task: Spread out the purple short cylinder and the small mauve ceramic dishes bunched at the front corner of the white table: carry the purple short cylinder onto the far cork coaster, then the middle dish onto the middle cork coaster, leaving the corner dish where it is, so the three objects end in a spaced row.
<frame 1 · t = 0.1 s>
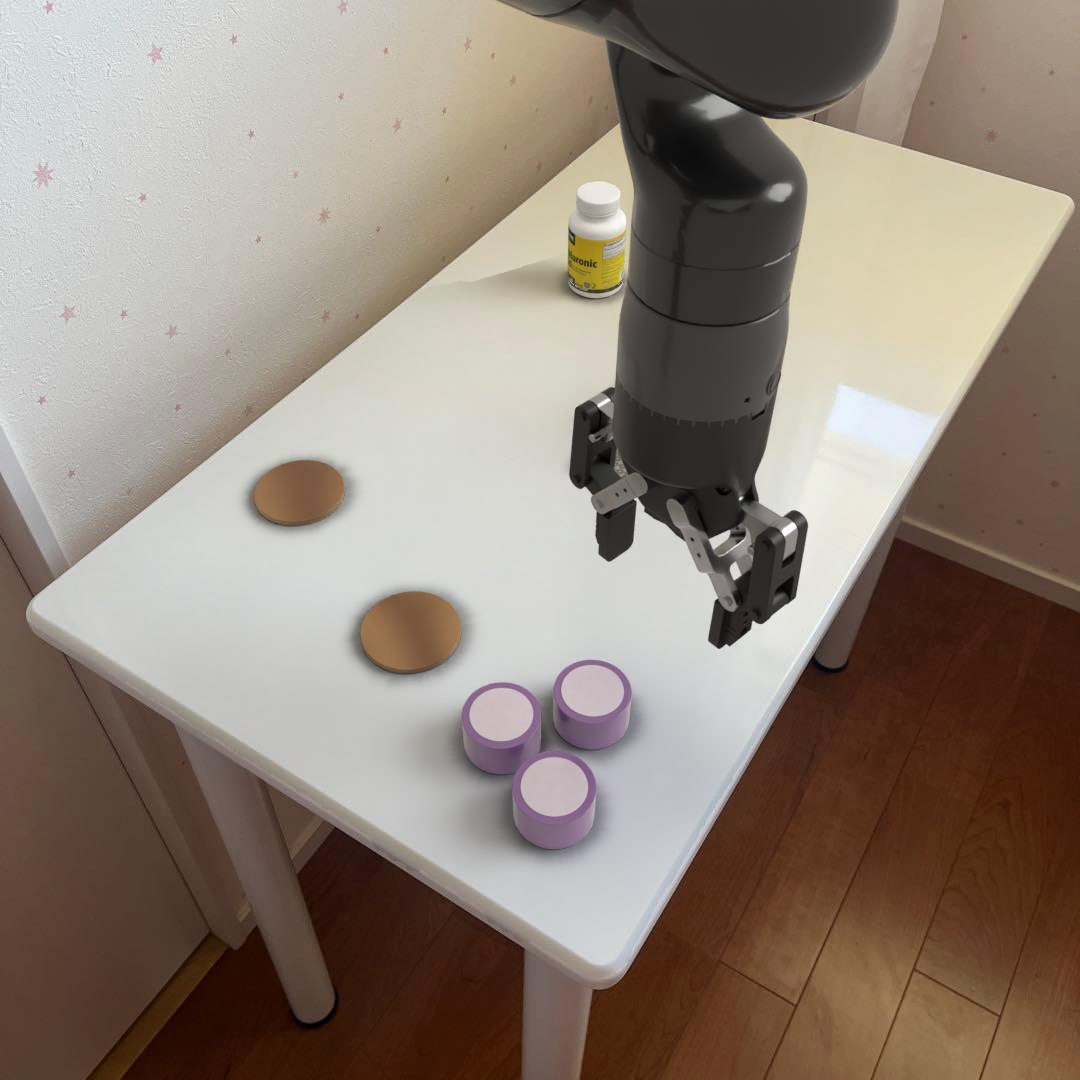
hand: (668, 593, 62), 13 cm above the table, tool pointing down, fingers open, 8 cm apart
supplement bottle: (595, 285, 107), on the table
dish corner: (553, 812, 68), on the table
architectural model: (674, 432, 92), on the table
coaster far: (300, 494, 87), on the table
purple short cylinder: (591, 717, 72), on the table
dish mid: (502, 741, 71), on the table
coaster mid: (411, 633, 77), on the table
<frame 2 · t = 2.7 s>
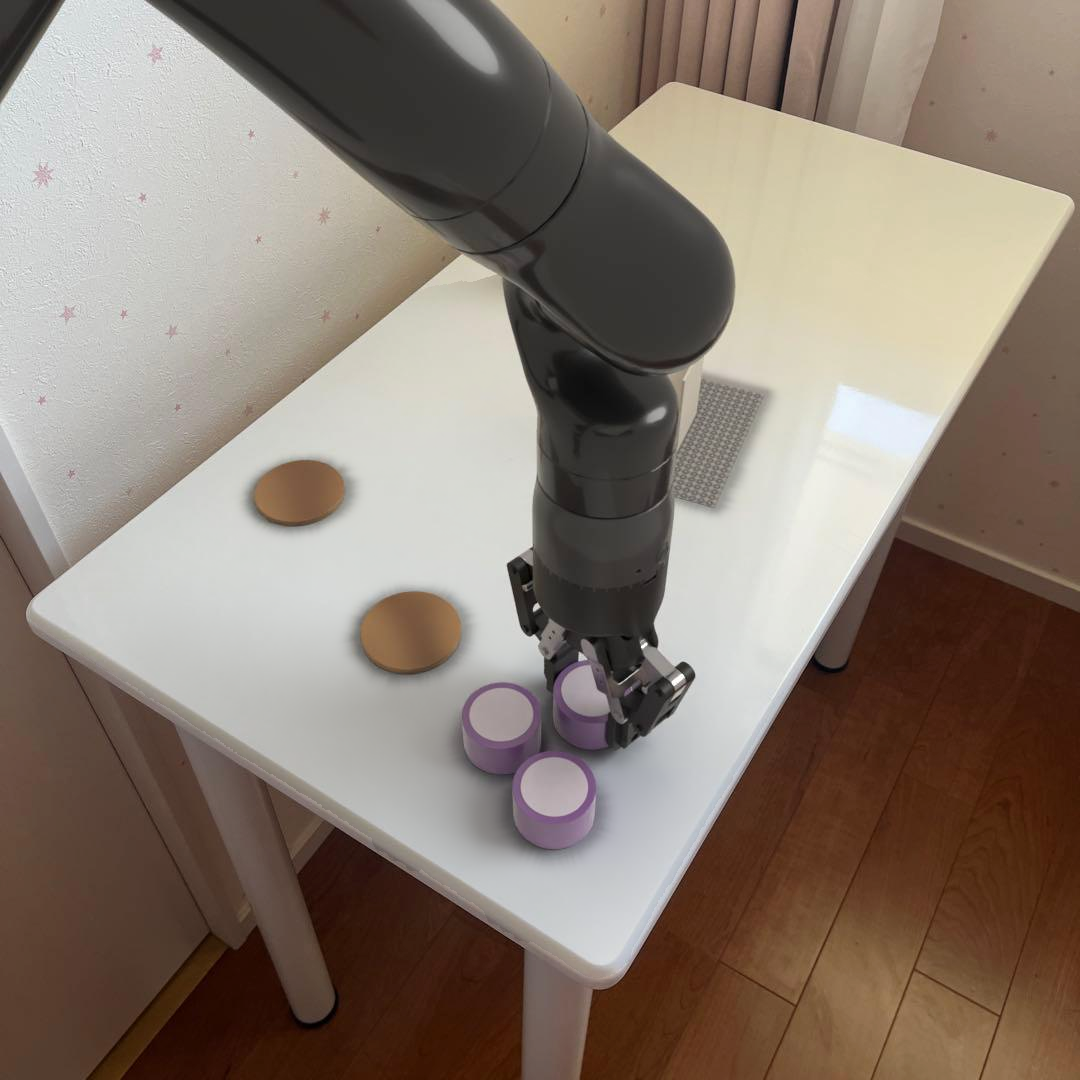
hand: (591, 712, 72), 1 cm above the table, tool pointing down, fingers closed on purple short cylinder, 5 cm apart
purple short cylinder: (591, 717, 72), on the table, touching gripper
everything else where it was.
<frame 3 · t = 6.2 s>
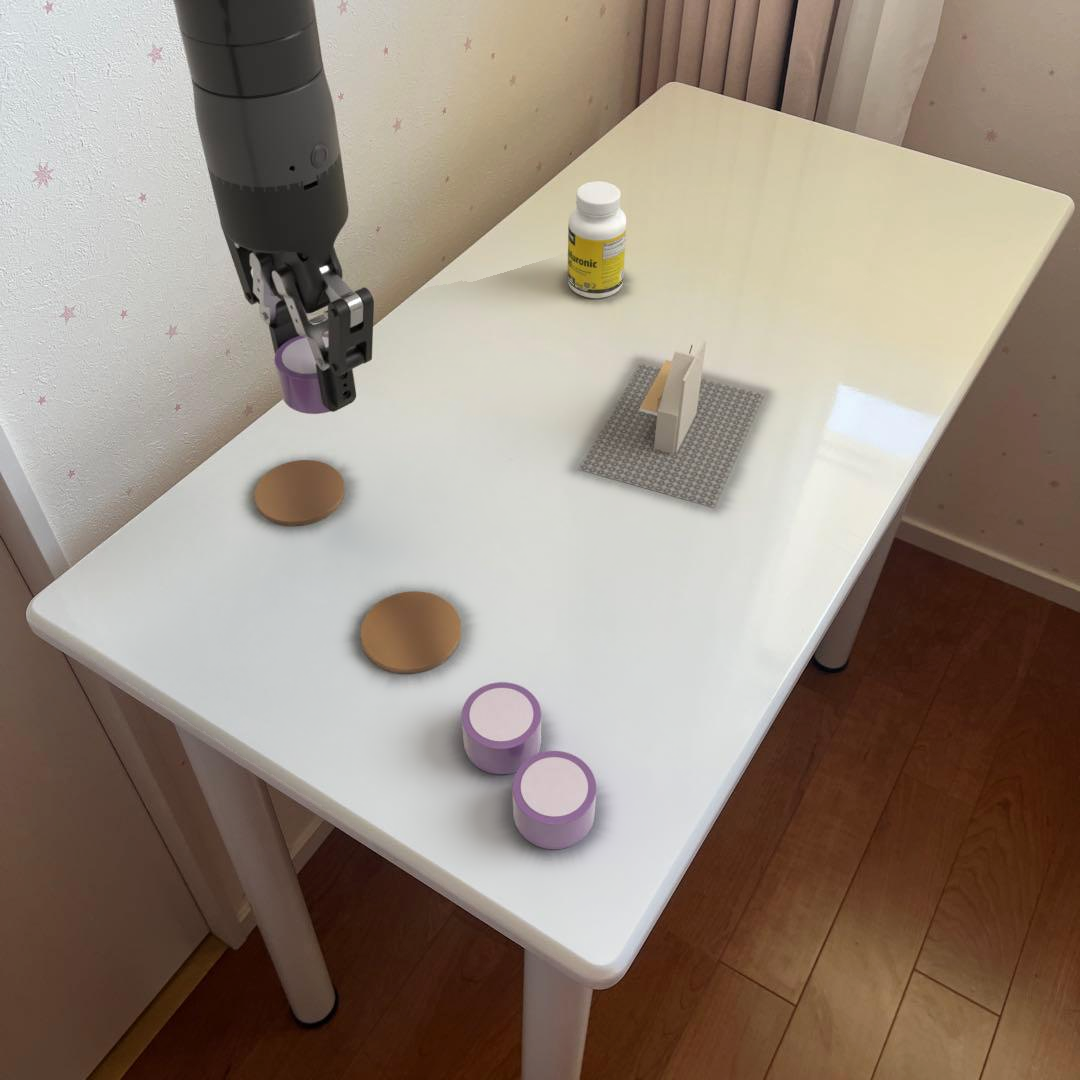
hand: (317, 383, 75), 14 cm above the table, tool pointing down, fingers closed on purple short cylinder, 5 cm apart
purple short cylinder: (319, 390, 75), point 13 cm above the table, touching gripper
everything else where it was.
when the fingers open (1 cm above the table, at t = 9.9 s): purple short cylinder stays where it is, resting on coaster far.
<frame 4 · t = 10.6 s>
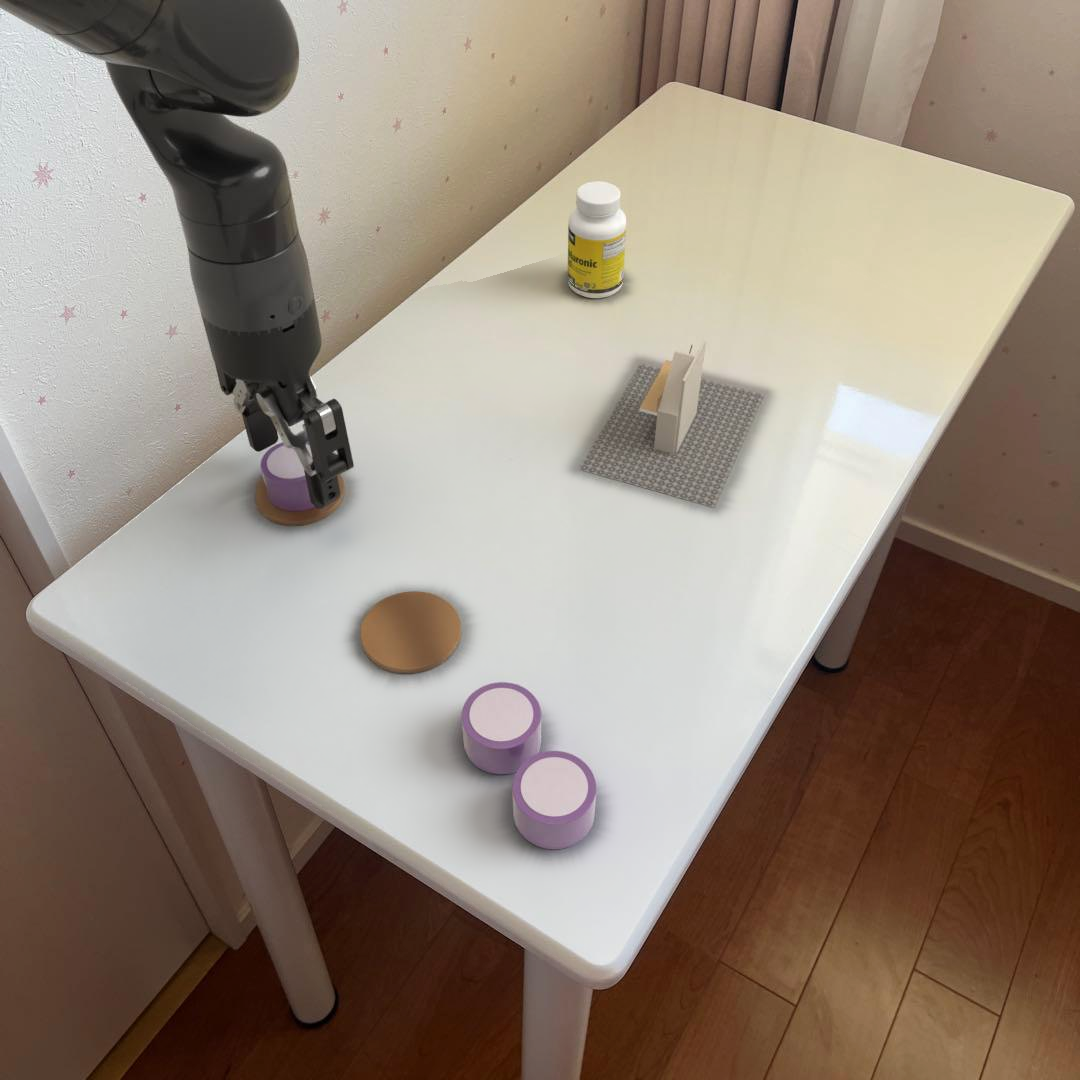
hand: (295, 473, 85), 2 cm above the table, tool pointing down, fingers open, 8 cm apart
purple short cylinder: (299, 489, 87), resting on coaster far
everything else where it was.
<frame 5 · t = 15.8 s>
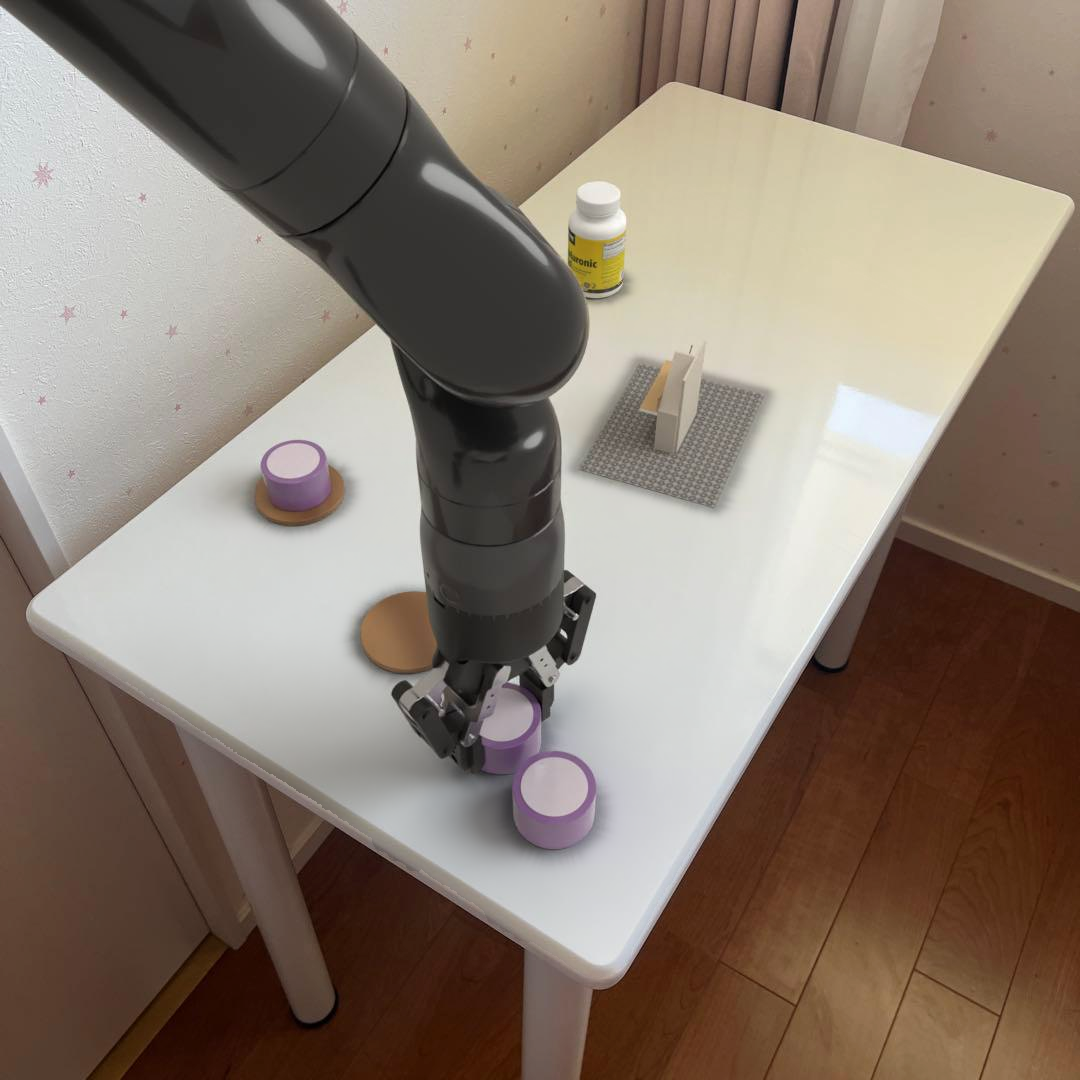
hand: (501, 735, 71), 1 cm above the table, tool pointing down, fingers closed on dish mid, 5 cm apart
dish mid: (502, 741, 71), on the table, touching gripper
everything else where it was.
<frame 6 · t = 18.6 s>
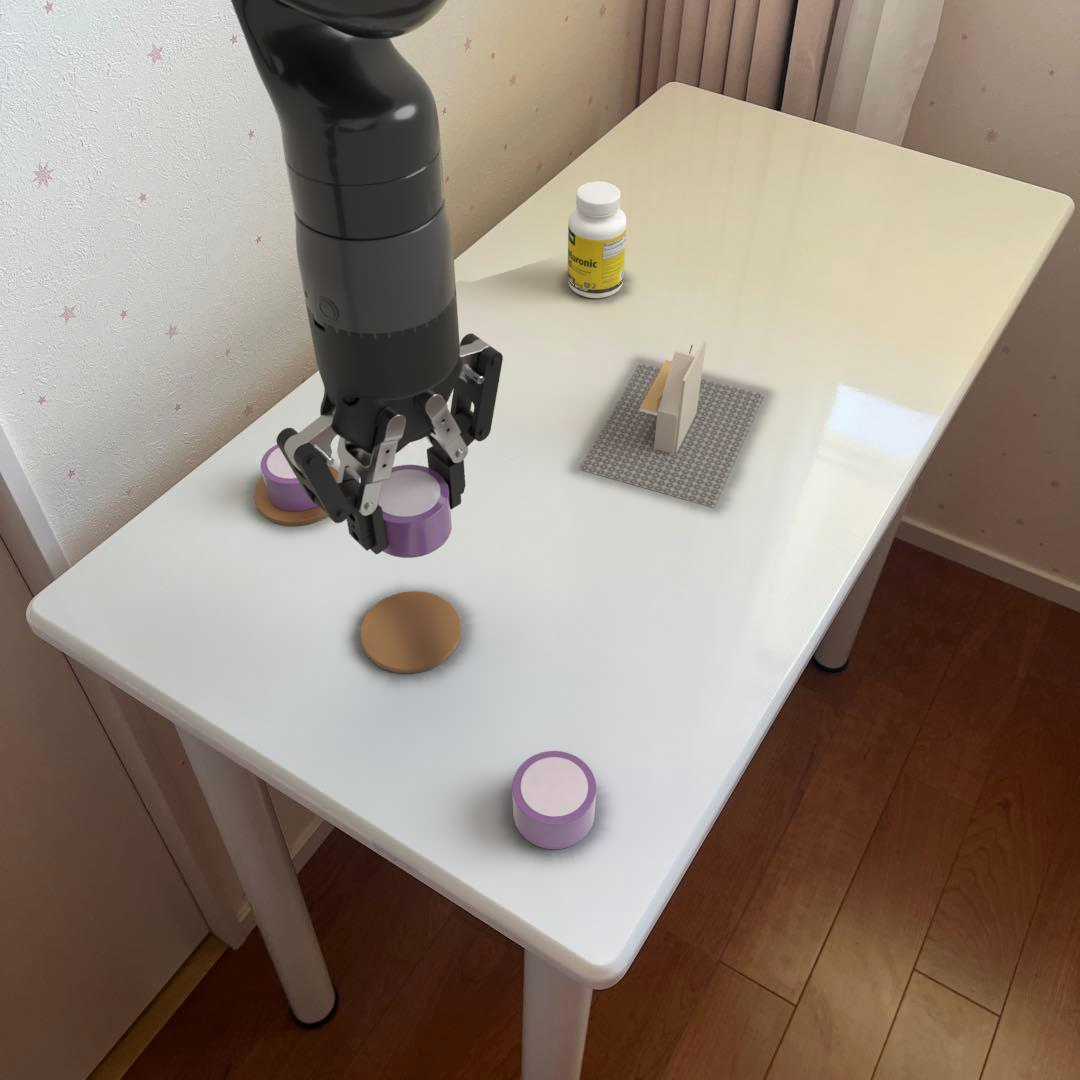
hand: (409, 521, 67), 13 cm above the table, tool pointing down, fingers closed on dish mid, 5 cm apart
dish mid: (411, 528, 68), point 12 cm above the table, touching gripper
everything else where it was.
when the fingers open (1 cm above the table, at t = 21.7 s): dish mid stays where it is, resting on coaster mid.
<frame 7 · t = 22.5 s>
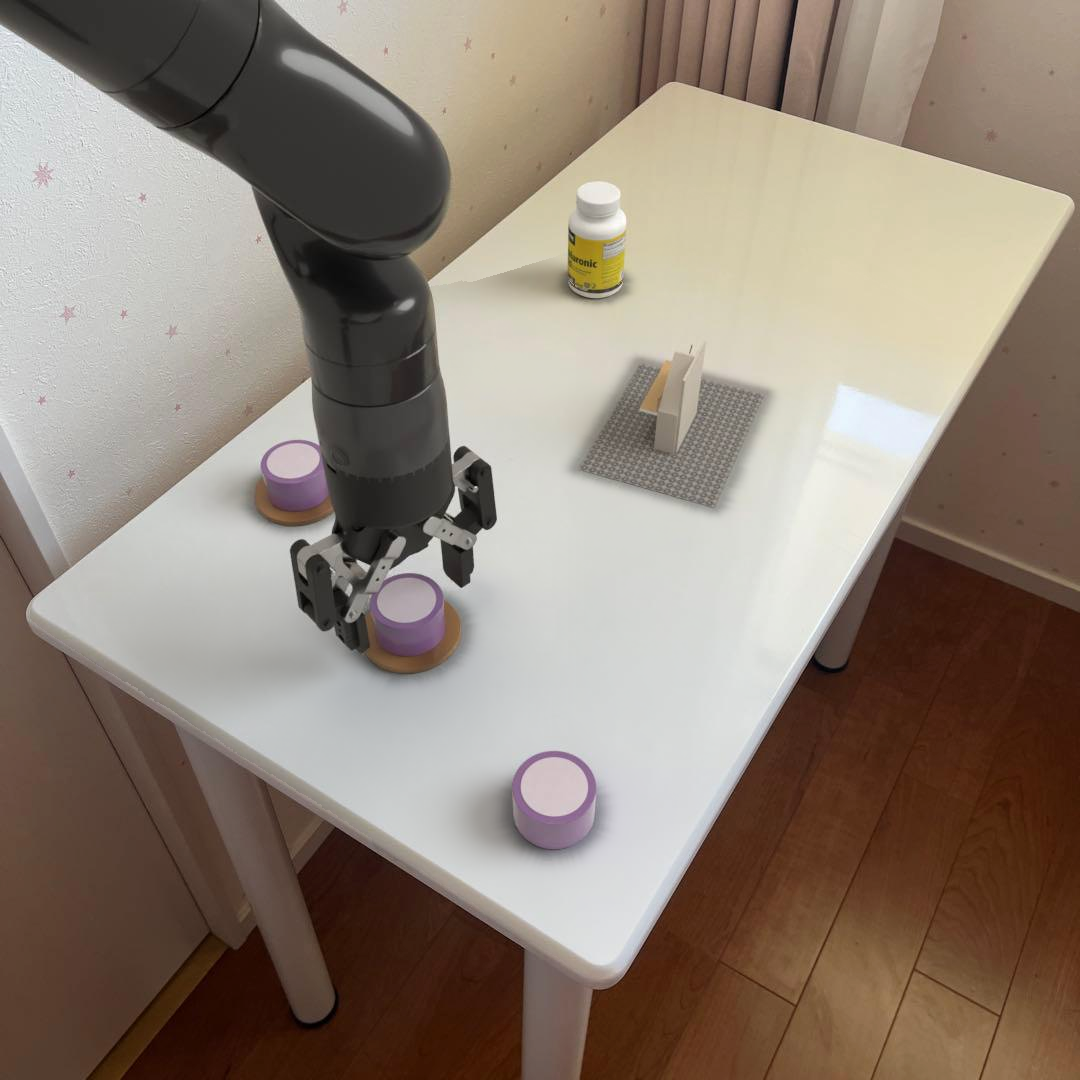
hand: (408, 610, 75), 3 cm above the table, tool pointing down, fingers open, 8 cm apart
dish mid: (410, 628, 77), resting on coaster mid
everything else where it was.
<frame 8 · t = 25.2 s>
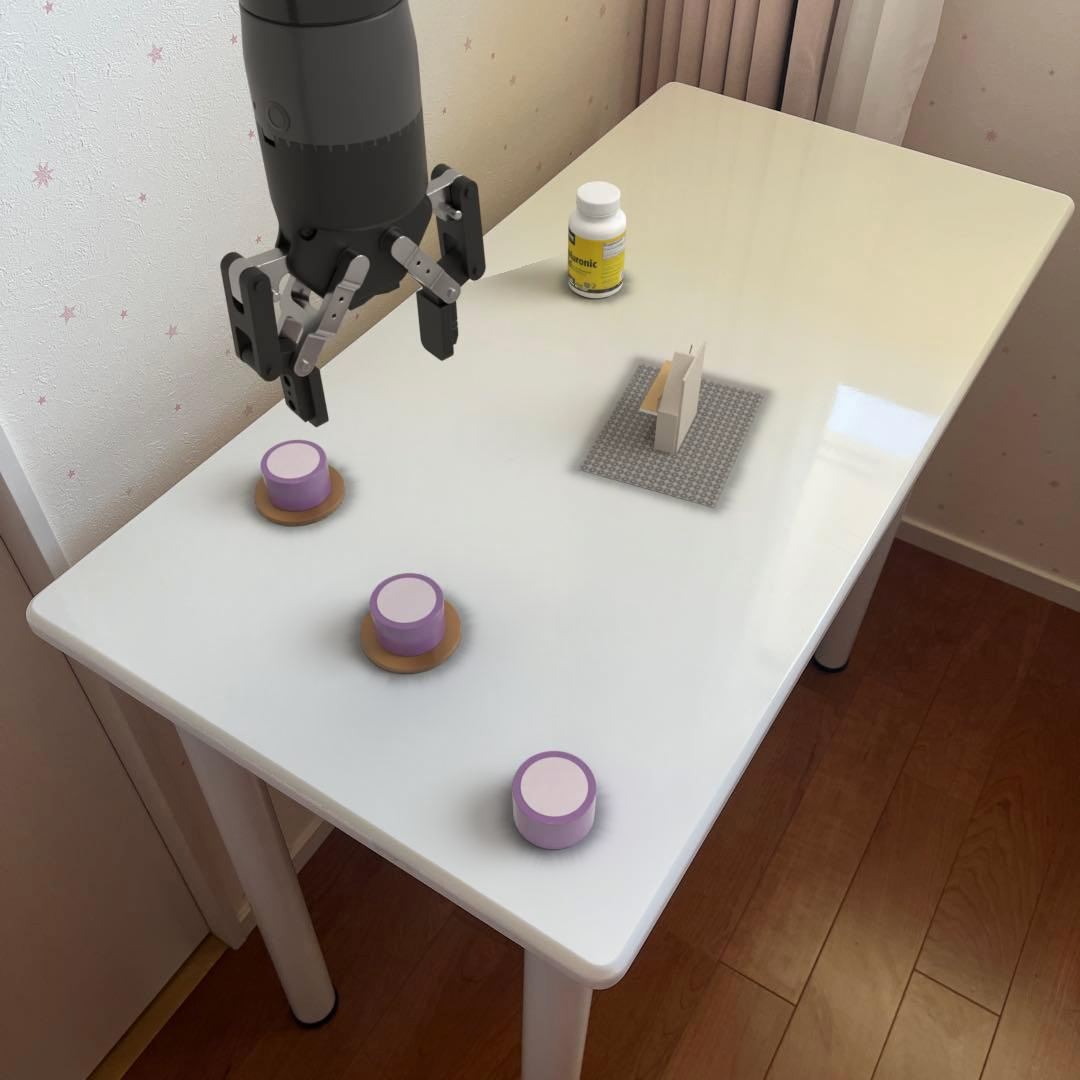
hand: (376, 384, 61), 22 cm above the table, tool pointing down, fingers open, 8 cm apart
nothing on the table moved.
at the end: purple short cylinder 0.1 cm off-centre on the coaster far, point 0.5 cm above the coaster far's base; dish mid 0.1 cm off-centre on the coaster mid, point 0.5 cm above the coaster mid's base; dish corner moved 0.0 cm from its start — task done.
